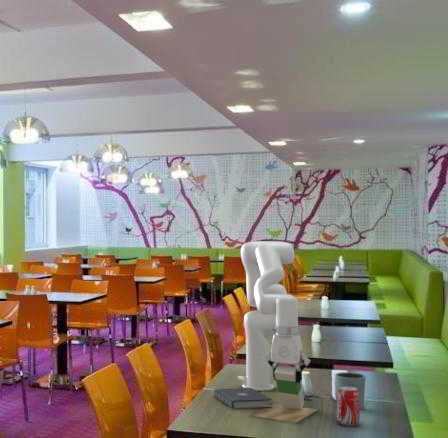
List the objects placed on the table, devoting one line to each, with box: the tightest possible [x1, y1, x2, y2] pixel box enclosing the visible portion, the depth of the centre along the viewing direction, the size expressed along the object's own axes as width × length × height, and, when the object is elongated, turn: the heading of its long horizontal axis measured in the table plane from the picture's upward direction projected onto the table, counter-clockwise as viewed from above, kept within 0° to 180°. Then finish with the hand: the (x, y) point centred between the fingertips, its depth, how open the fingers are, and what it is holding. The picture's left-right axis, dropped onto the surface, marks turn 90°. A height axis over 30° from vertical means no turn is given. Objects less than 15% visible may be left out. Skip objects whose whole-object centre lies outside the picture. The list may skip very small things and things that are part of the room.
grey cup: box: [336, 371, 367, 411], centre depth 282 cm, size 10×10×12 cm
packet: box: [274, 365, 306, 410], centre depth 278 cm, size 7×16×4 cm
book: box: [213, 387, 273, 410], centre depth 291 cm, size 22×15×3 cm
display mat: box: [251, 403, 318, 423], centre depth 274 cm, size 16×22×1 cm
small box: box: [331, 369, 349, 401], centre depth 296 cm, size 8×6×10 cm
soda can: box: [336, 386, 360, 427], centre depth 260 cm, size 7×7×12 cm
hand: (287, 380), depth 276 cm, fingers closed on packet, 7 cm apart
